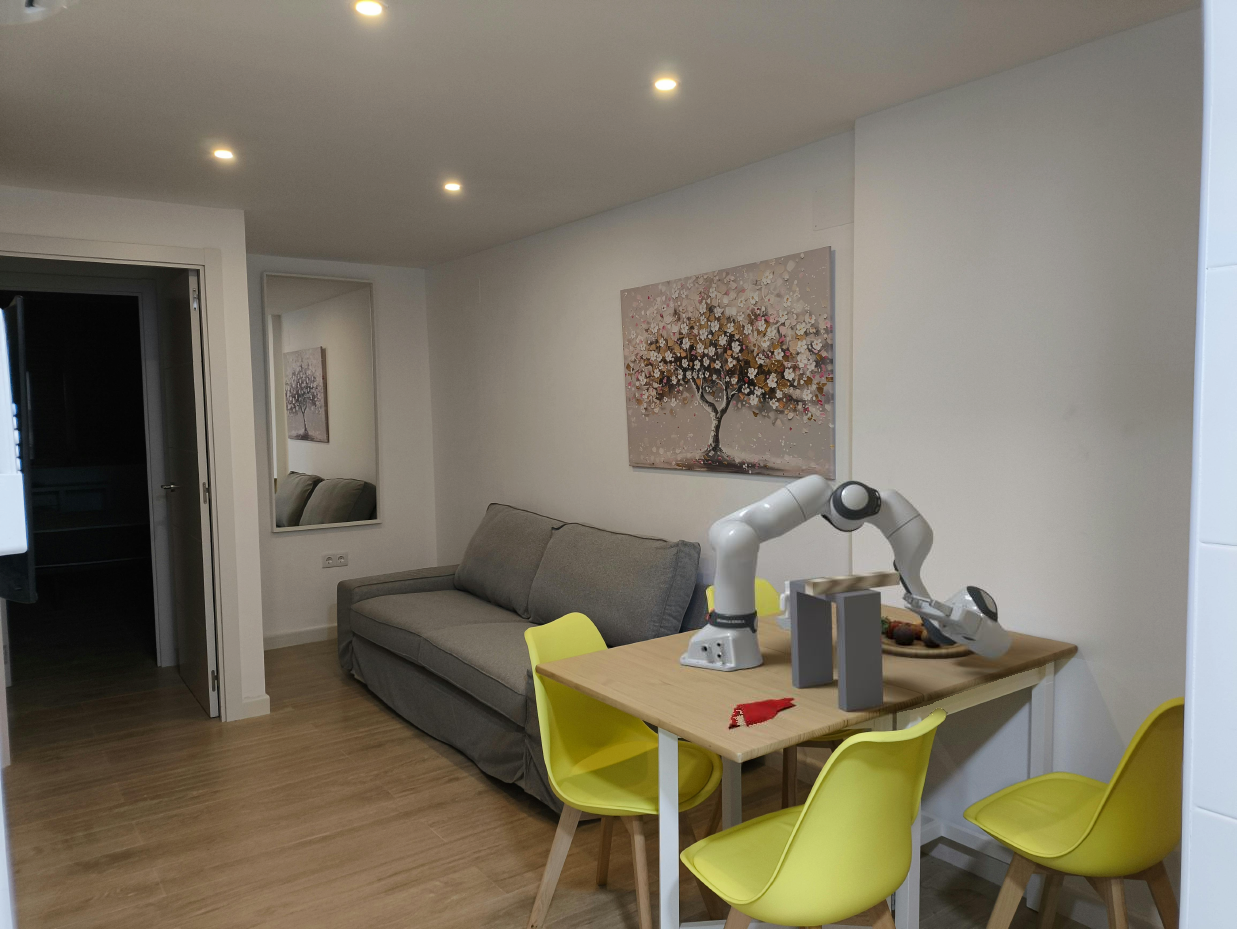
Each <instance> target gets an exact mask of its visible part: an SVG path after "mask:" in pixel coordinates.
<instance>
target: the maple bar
mask: <svg viewBox="0 0 1237 929" xmlns="http://www.w3.org/2000/svg"><path fill="white" fill-rule="evenodd" d="M811 579H812V578H811ZM900 584H901V582H900V572H897V571H895V570H893V569H892V570H891V569H890V570H881V571H873V572H866V573H865V572H863V573H855V574H849V575H840V576H839V575H838V576H830V577H825V578H821V579H812V580H805V590H806V594H809V595H813V596H814V595H822V594H830V593H838V592H846V591H854V590H862V589H876V588H885V587H892V586H900Z"/></svg>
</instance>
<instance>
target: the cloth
mask: <svg viewBox="0 0 1237 929" xmlns="http://www.w3.org/2000/svg"><path fill="white" fill-rule="evenodd" d="M794 700H795V698H794V697H783V698H779V699H771V698H770V699H765V700H761V701H754V702H747V703H741V704H736V707H734V708H733V710H734V712H733V711H732V714H731V717H730V720H732V723H731V722H730V723H729V726H728V727H727V729H728V728H729V727H731V728H732V726H737V727H739V726H738V725H737V723H738V722H736V721H738V720H736V719H737V718H736V719H735V718H733V717H737V716H739V715H740V716H741V715H743V718H744V721H745V723H746V726H749V725H753V724H757V723H760V724H762V722H763V723H766V722H767V721H769V720H770V719H771V720H772V719H774V718H775V717H776V714H778V711H781V710H784V709H788V708H790V707H793V706H797V704H794V703H793V702H792V701H794ZM736 710H741V711H742V713H743V714H740V711H736ZM733 713H735V714H733ZM765 721H766V722H765ZM757 725H758V724H757ZM729 729H730V728H729Z"/></svg>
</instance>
